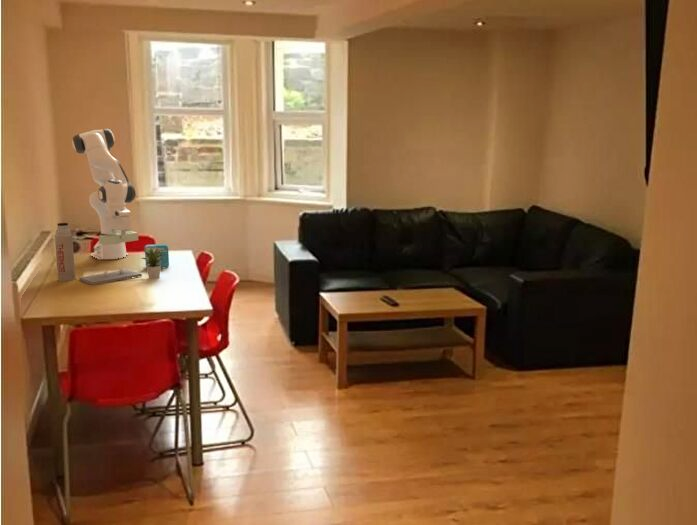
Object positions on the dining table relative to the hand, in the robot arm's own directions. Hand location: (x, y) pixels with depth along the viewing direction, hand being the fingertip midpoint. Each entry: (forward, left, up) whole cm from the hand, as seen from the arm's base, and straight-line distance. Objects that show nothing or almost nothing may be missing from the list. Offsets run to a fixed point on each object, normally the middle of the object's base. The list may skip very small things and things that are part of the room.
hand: (118, 237), depth 368 cm
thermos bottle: (-2, -28, -18) cm, 33 cm away
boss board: (+12, -12, -18) cm, 24 cm away
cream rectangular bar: (0, 0, -2) cm, 2 cm away
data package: (+5, +19, -18) cm, 26 cm away
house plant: (+27, +3, -18) cm, 32 cm away
